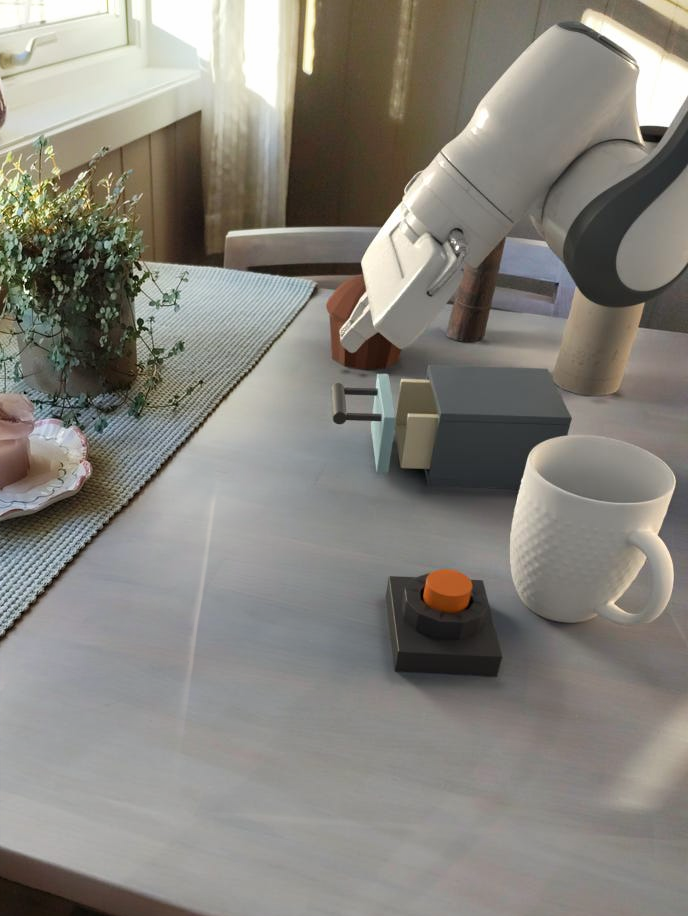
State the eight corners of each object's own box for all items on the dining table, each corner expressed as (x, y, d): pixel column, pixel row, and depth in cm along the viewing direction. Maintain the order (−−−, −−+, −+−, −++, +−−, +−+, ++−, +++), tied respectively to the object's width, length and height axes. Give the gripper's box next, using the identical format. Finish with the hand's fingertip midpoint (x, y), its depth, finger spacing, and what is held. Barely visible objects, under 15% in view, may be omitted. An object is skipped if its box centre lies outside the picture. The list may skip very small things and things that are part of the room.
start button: (465, 587, 73) (469, 570, 72) (471, 614, 71) (475, 597, 69) (420, 585, 74) (424, 568, 72) (425, 612, 71) (428, 595, 70)
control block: (478, 600, 78) (487, 562, 75) (497, 677, 70) (508, 639, 68) (385, 595, 78) (391, 558, 76) (394, 672, 71) (401, 633, 68)
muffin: (312, 341, 122) (318, 266, 115) (390, 336, 123) (400, 260, 117) (337, 378, 113) (345, 298, 106) (421, 371, 114) (433, 292, 108)
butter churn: (484, 358, 117) (534, 114, 99) (418, 341, 122) (454, 104, 104) (512, 336, 123) (564, 101, 105) (448, 320, 127) (487, 93, 109)
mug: (689, 648, 73) (752, 511, 65) (582, 685, 70) (634, 546, 61) (565, 552, 83) (606, 423, 75) (467, 580, 80) (498, 449, 72)
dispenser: (427, 485, 93) (440, 413, 87) (416, 433, 102) (428, 364, 96) (551, 490, 92) (572, 417, 87) (530, 437, 101) (547, 368, 96)
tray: (329, 471, 93) (334, 415, 89) (326, 425, 101) (331, 372, 97) (488, 477, 92) (501, 421, 88) (474, 430, 100) (485, 376, 96)
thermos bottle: (613, 370, 114) (688, 121, 96) (625, 398, 108) (708, 137, 90) (548, 367, 115) (611, 119, 97) (556, 393, 109) (625, 135, 91)
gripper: (500, 276, 70) (377, 408, 77) (462, 213, 86) (363, 327, 93) (441, 223, 68) (321, 364, 75) (414, 169, 84) (317, 289, 91)
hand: (344, 343), depth 84 cm, fingers closed
